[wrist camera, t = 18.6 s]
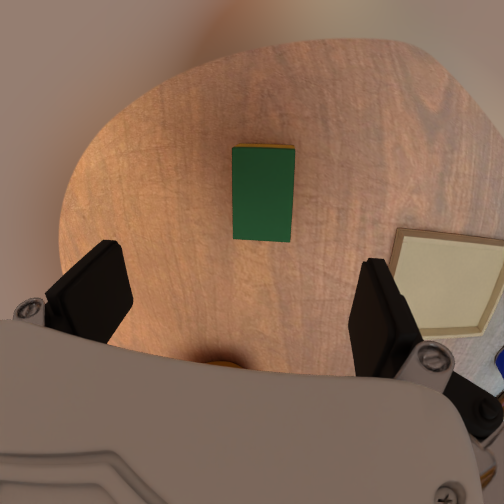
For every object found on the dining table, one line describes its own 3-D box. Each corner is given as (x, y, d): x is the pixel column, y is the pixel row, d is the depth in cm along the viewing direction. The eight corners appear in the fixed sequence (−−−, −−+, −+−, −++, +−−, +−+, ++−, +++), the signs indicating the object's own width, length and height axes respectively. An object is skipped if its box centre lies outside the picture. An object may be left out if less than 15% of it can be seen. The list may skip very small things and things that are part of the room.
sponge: (238, 143, 26) (231, 147, 22) (294, 145, 25) (295, 149, 22) (239, 224, 29) (232, 239, 26) (290, 227, 29) (290, 242, 26)
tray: (397, 227, 27) (404, 236, 25) (510, 241, 25) (519, 248, 24) (370, 329, 33) (374, 340, 31) (476, 326, 31) (482, 336, 29)
